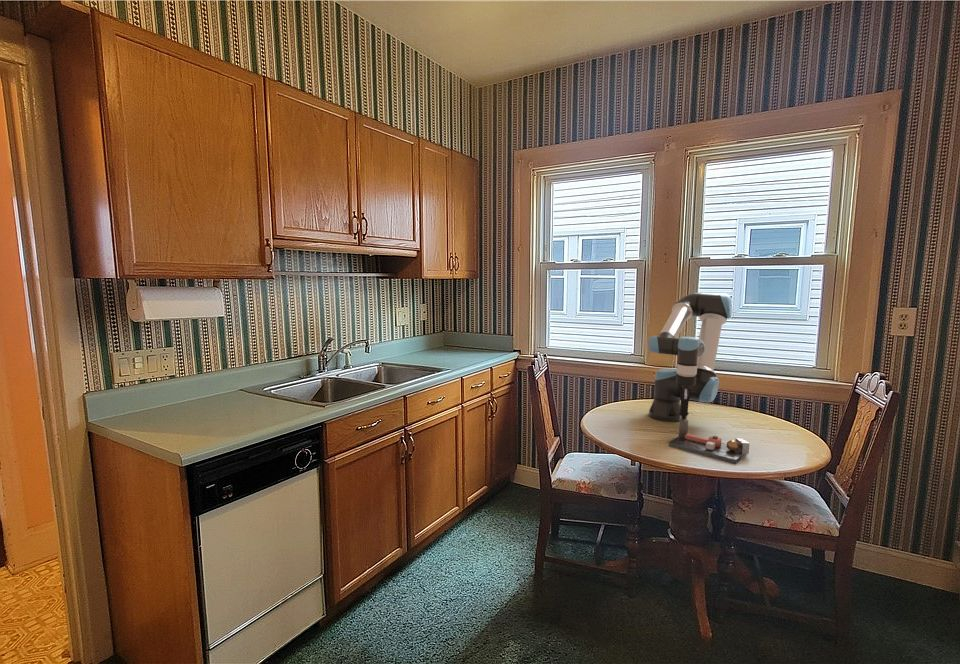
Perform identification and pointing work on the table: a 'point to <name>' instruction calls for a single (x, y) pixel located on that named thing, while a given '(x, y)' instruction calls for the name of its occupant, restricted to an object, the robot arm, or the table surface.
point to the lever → (710, 443)
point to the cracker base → (726, 452)
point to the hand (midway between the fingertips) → (682, 430)
